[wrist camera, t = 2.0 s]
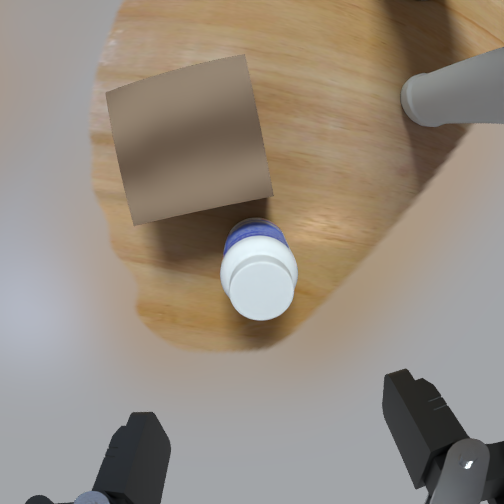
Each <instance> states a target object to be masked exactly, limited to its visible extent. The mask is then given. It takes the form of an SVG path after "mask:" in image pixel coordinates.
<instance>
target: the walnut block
mask: <svg viewBox="0 0 504 504" xmlns="http://www.w3.org/2000/svg"><path fill="white" fill-rule="evenodd" d="M106 99H107V105H108V111H109V117H110V123H111V128H112V133H113V139H114V144H115V149H116V153H117V158H118V163H119V167H120V172H121V176H122V180H123V185H124V189H125V193H126V197H127V201H128V205H129V209H130V213H131V217H132V220H133V224H134V226H136V225H140V224H145V223H149V222H153V221H157V220H162V219H166V218H170V217H175V216H179V215H184V214H188V213H193V212H198V211H202V210H207V209H212V208H216V207H221V206H226V205H231V204H236V203H241V202H246V201H251V200H256V199H262V198H267V197H272V196H274V195H273V189H272V184H271V179H270V174H269V168H268V163H267V158H266V153H265V148H264V143H263V138H262V133H261V128H260V123H259V118H258V113H257V108H256V104H255V99H254V94H253V90H252V85H251V80H250V76H249V71H248V66H247V62H246V57H245V54H244V55H238V56H233V57H228V58H223V59H218V60H213V61H209V62H205V63H200V64H196V65H192V66H188V67H184V68H180V69H177V70H173V71H170V72H166V73H163V74H159V75H156V76H153V77H149V78H146V79H143V80H140V81H137V82H134V83H131V84H128V85H125V86H122V87H120V88H117V89H114V90H112V91H109V92H106Z"/></svg>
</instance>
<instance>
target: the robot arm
mask: <svg viewBox="0 0 504 504" xmlns="http://www.w3.org/2000/svg"><path fill="white" fill-rule="evenodd" d="M423 1H426V0H423ZM382 407H383V414H384V418H385V420H386V423H387V425H388V427H389V429H390V432H391V434H392V436H393V438H394V441H395V443H396V445H397V447H398V449H399V452H400V454H401V456H402V459H403V461H404V463H405V465H406V468H407V470H408V473H409V475H410V477H411V479H412V482H413V484H414V487H415V489H418V488H421V487H423V486H426V488H427V490H428V492H429V493H428V495H427V498H426V500H425V503H424V504H480V502H481V501H485V500H487V501H488V503H489V504H504V441H502V442H498V443H493V444H484V443H483V442H481V441H480V440H477V439H472V438H470V437H469V436H468V435H467V434H466V432H465V431H464V429H463V427H462V426H461V424H460V423H459V421H458V420H457V418H456V417H455V415H454V414H453V412H452V411H451V409H450V408H449V406H447V403H446V402H445V400H444V399H443V398H441V395H440V393H439V392H438V391H437V389H436V387H435V386H434V385H433V384H431V383H430V382H428V381H426V380H425V379H423V378H421V379H418V380H414V378H413V377H412V375H411V374H410V372H409V371H408V370H407V369H403V370H399V371H396V372H393V373H390V374H386V375H385V378H384V390H383V402H382ZM170 453H171V446H170V441H169V438H168V436H167V434H166V433H165V431H164V430H163V427H162V426H161V424H160V422H159V420H158V419H157V417H156V415H155V414H154V413H153V412H133V413H132V414H131V415H130V417H129V420H128V422H127V425H126V426H121V427H120V428H119V429H118V430H117V431H116V433H115V434H114V435H113V436H112V439H111V442H110V444H109V449H107V452H106V454H105V458H104V460H103V462H102V465H101V467H100V470H99V473H98V475H97V478H96V481H95V484H94V486H93V489H92V491H89V492H85V493H83V494H81V495H79V496H78V498H76V500H75V501H74V502H72V503H58V504H160V503H161V498H162V493H163V488H164V483H165V478H166V472H167V467H168V463H169V458H170ZM25 504H54V503H53V502H52V501H51V500H50V499H48V498H47V497H45V496H43V495H36V496H33V497H31V498H30V499H28V500H27V502H26V503H25Z"/></svg>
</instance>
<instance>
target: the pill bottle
mask: <svg viewBox="0 0 504 504" xmlns="http://www.w3.org/2000/svg"><path fill="white" fill-rule="evenodd" d="M220 278H221V284H222V286H223V289H224V291H225V293H226V294H227V296H228V297H229V298H230V300H231V302H232V304H233V306H234V308H235V309H236V310H237V311H238V312H239V313H240V314H242V315H243V316H245V317H247V318H249V319H253V320H269V319H272V318H275V317H277V316H279V315H281V314H282V313H283V312H284V311H285V310H286V309H287V308H288V307H289V305H290V304H291V302H292V299H293V296H294V288H295V286H296V283H297V278H298V268H297V263H296V260H295V258H294V256H293V254H292V252H291V250H290V248H289V246H288V244H287V241H286V239H285V237H284V235H283V233H282V231H281V230H280V228H279V227H278V226H277V225H276V224H275V223H273V222H271V221H269V220H267V219H264V218H248V219H245V220H242V221H240V222H239V223H237V224H236V225H235V226H234V227H233V228H232V229H231V231H230V232H229V234H228V236H227V239H226V242H225V247H224V253H223V258H222V264H221V270H220Z"/></svg>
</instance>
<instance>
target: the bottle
mask: <svg viewBox="0 0 504 504" xmlns="http://www.w3.org/2000/svg"><path fill="white" fill-rule="evenodd" d="M400 95H401V104H402V107H403V109H404V111H405V113H406V114H407V116H408V117H409V118H410V119H411V120H412V121H414V122H416V123H417V124H419V125H421V126H428V127H438V126H440V125H443V124H447V123H499V124H500V123H501V124H504V47H502V48H499V49H496V50H492V51H489V52H486V53H483V54H480V55H477V56H474V57H471V58H469V59H466V60H463V61H460V62H457V63H455V64H452V65H449V66H446V67H444V68H441V69H438V70H436V71H433V72H431V73H428V74H427V73H421V74H418V75H415V76H412V77H411V78H409V79H408V81H407V82H406V83H405V84H404V85H403V87H402V91H401V94H400Z"/></svg>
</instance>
